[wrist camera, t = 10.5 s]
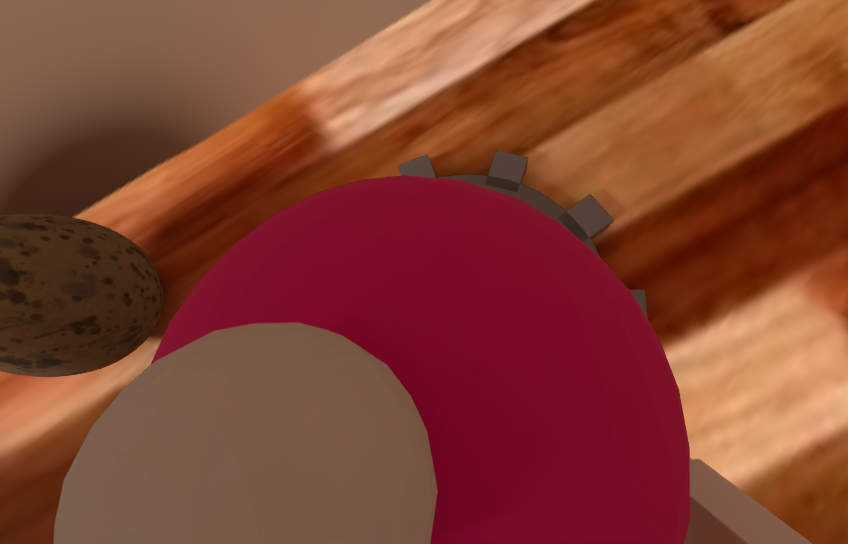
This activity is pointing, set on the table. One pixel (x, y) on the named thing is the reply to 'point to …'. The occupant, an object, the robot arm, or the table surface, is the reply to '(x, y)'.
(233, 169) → the table surface
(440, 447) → the pepper mill
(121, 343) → the decorative egg
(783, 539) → the robot arm
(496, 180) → the sprocket plate
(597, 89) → the table surface
